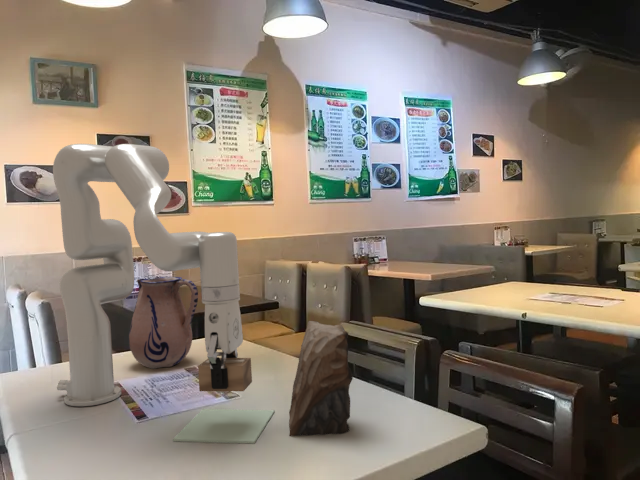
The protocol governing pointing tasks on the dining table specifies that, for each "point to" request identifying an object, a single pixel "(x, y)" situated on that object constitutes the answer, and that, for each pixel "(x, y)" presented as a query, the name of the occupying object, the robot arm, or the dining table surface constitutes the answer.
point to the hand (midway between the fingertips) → (225, 382)
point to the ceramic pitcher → (162, 322)
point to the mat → (225, 426)
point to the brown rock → (321, 383)
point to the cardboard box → (236, 375)
